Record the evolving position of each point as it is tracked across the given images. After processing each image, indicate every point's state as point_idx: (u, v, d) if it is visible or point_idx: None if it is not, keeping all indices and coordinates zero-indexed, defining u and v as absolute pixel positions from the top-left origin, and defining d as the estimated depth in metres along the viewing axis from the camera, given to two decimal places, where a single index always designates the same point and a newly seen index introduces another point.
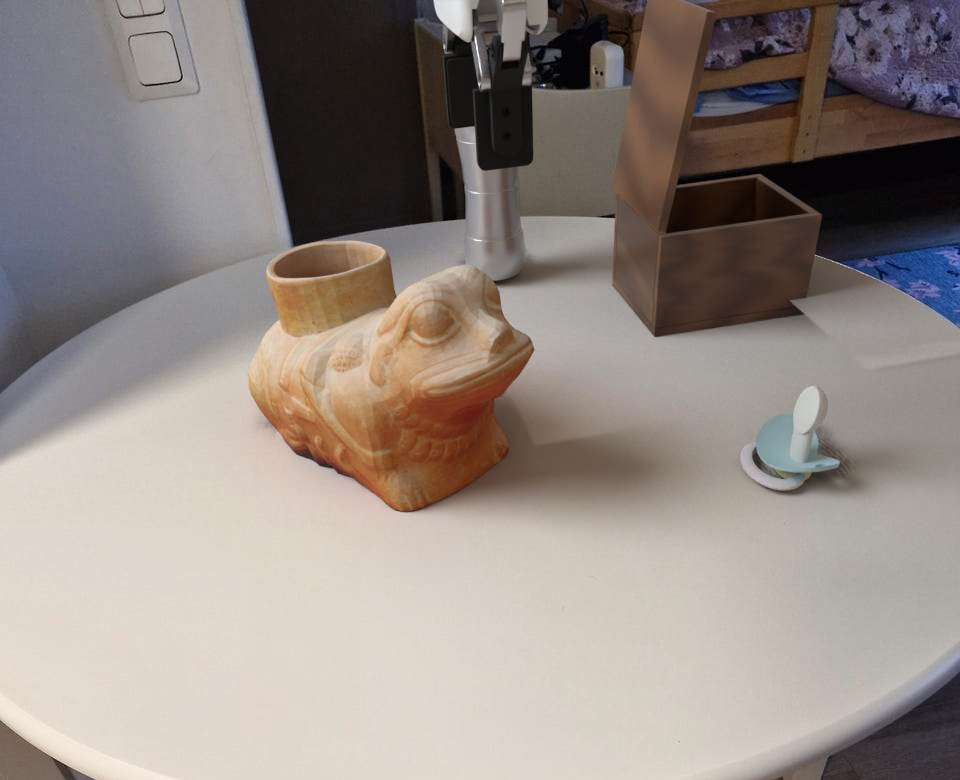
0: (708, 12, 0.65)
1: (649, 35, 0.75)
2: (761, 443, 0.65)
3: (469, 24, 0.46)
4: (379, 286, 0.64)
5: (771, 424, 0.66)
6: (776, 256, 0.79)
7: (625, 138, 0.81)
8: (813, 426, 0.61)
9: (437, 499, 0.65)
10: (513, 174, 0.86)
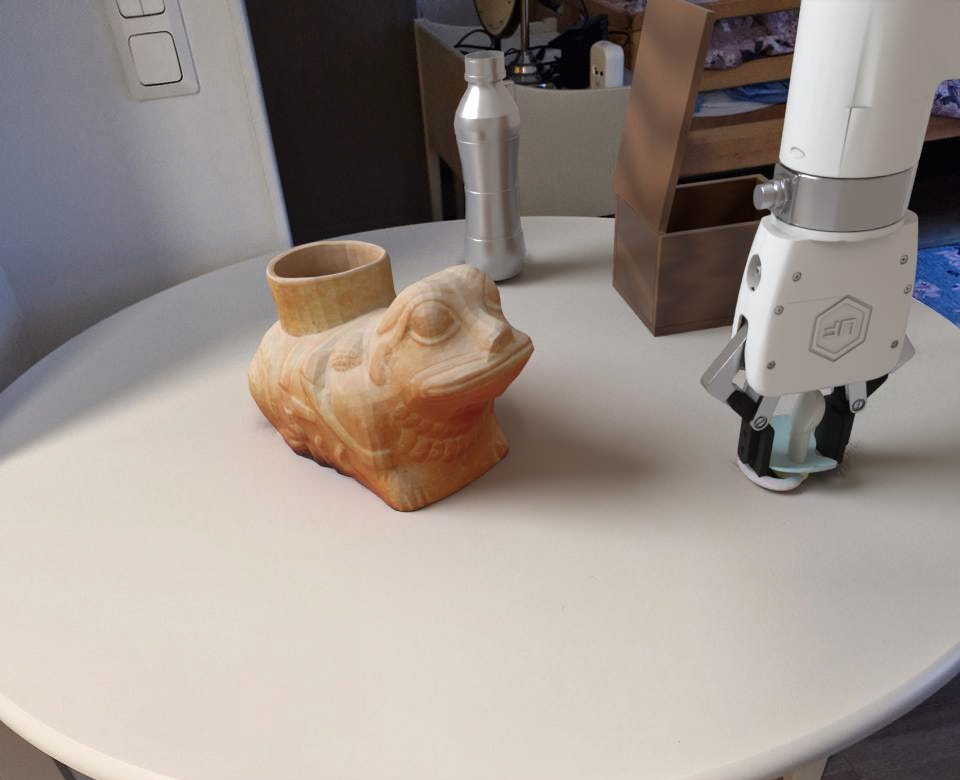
0: (708, 12, 0.65)
1: (649, 35, 0.75)
2: None
3: None
4: (379, 286, 0.64)
5: None
6: None
7: (625, 138, 0.81)
8: (810, 426, 0.61)
9: (437, 499, 0.65)
10: (513, 174, 0.86)
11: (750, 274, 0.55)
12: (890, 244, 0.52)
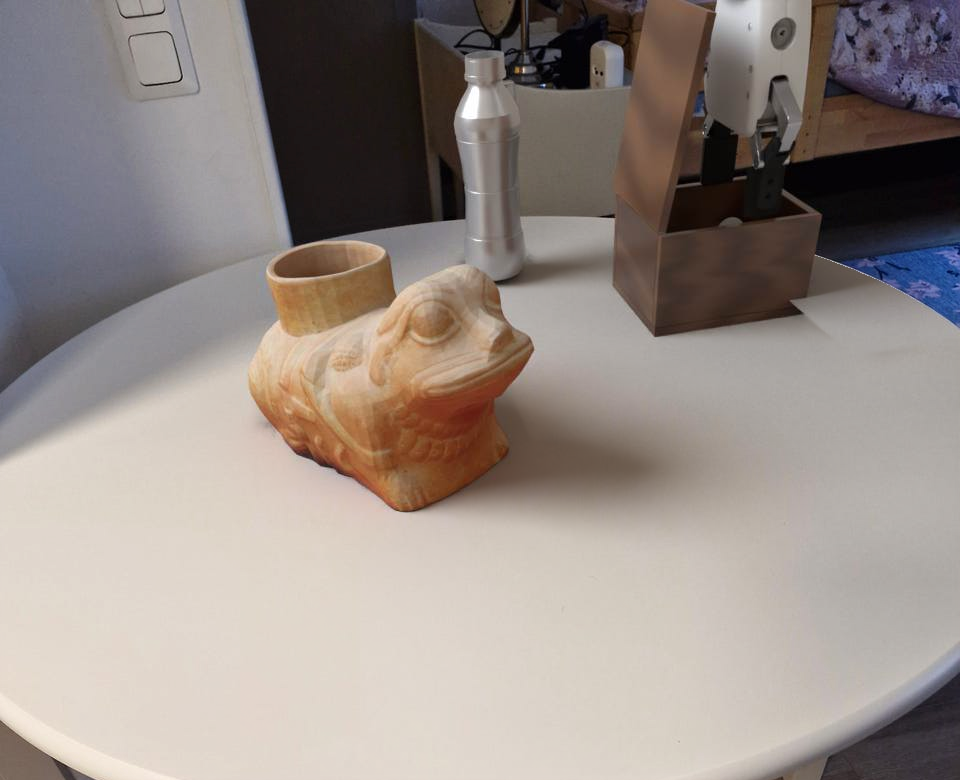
0: (708, 12, 0.65)
1: (649, 35, 0.75)
2: None
3: (753, 128, 0.73)
4: (379, 286, 0.64)
5: None
6: (776, 256, 0.79)
7: (625, 138, 0.81)
8: None
9: (437, 499, 0.65)
10: (513, 174, 0.86)
11: None
12: None
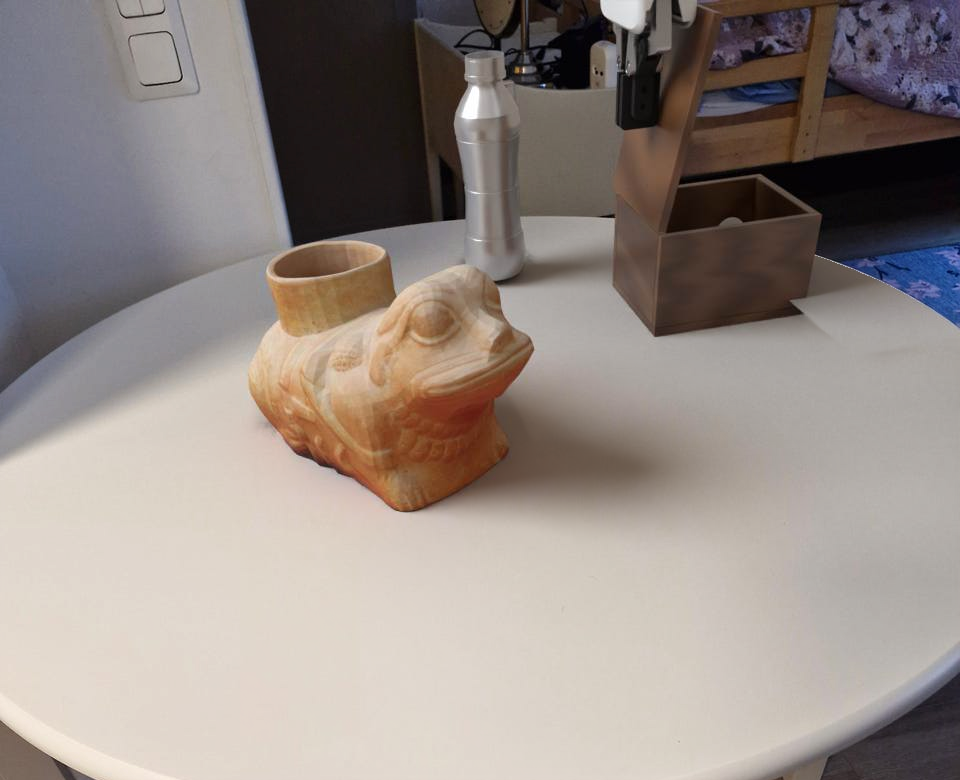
0: (715, 13, 0.66)
1: None
2: None
3: (642, 21, 0.66)
4: (379, 286, 0.64)
5: None
6: (776, 256, 0.79)
7: (627, 138, 0.81)
8: None
9: (437, 499, 0.65)
10: (513, 174, 0.86)
11: None
12: None
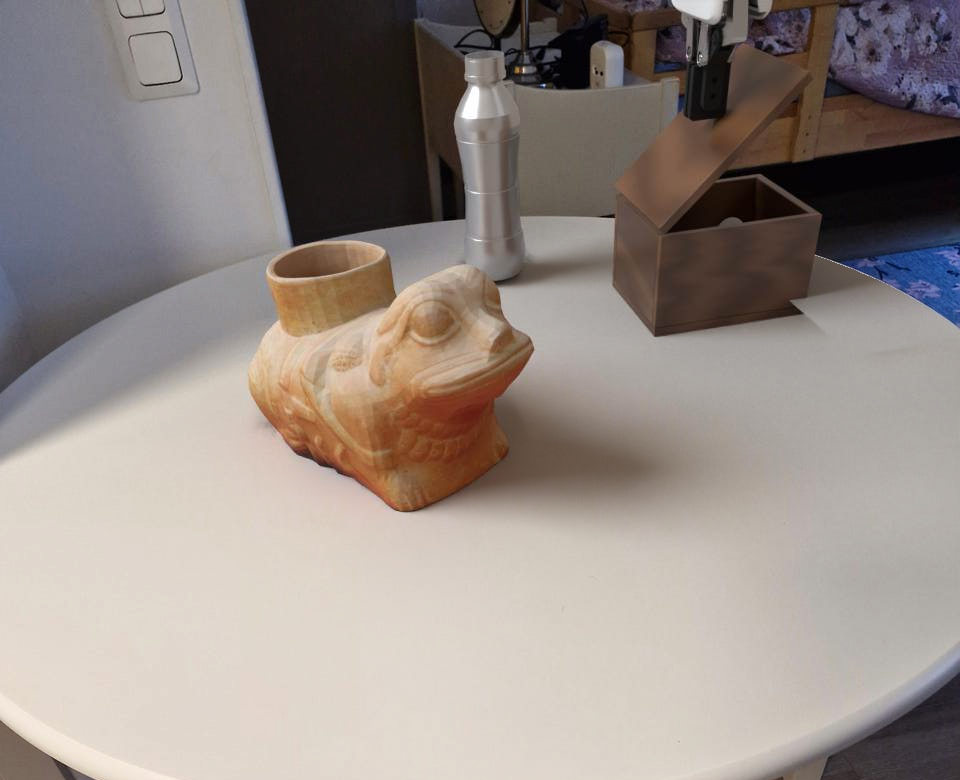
0: (809, 72, 0.70)
1: None
2: None
3: (719, 11, 0.67)
4: (379, 286, 0.64)
5: None
6: (776, 256, 0.79)
7: (652, 149, 0.82)
8: None
9: (437, 499, 0.65)
10: (513, 174, 0.86)
11: None
12: None
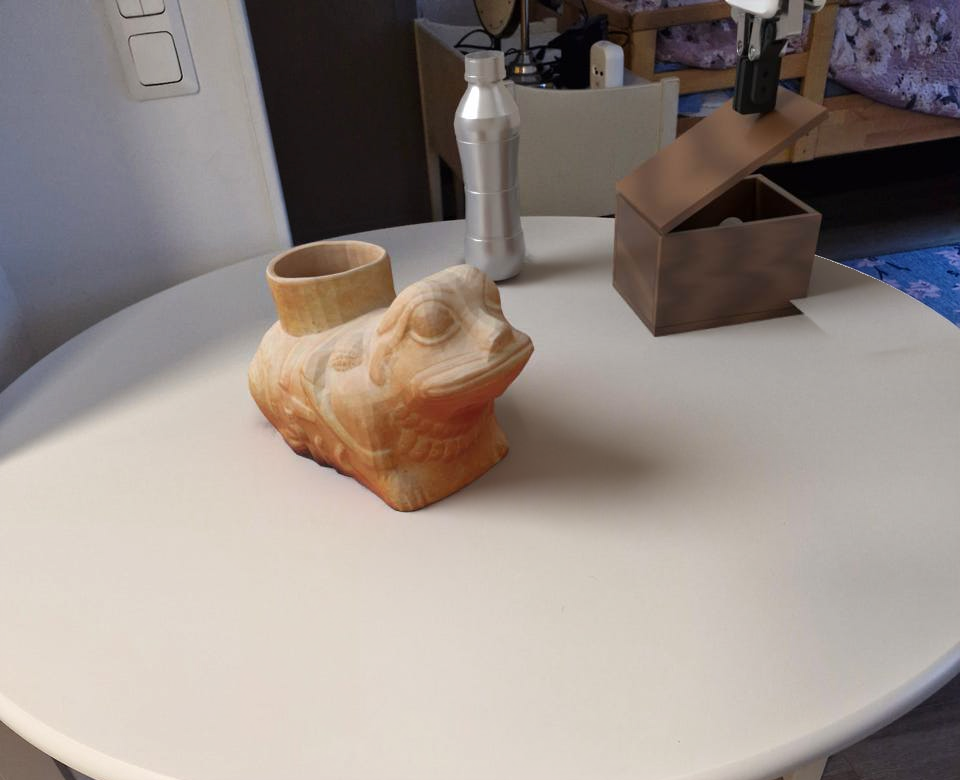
0: (827, 110, 0.72)
1: None
2: None
3: (775, 5, 0.67)
4: (379, 286, 0.64)
5: None
6: (776, 256, 0.79)
7: (659, 157, 0.82)
8: None
9: (437, 499, 0.65)
10: (513, 174, 0.86)
11: None
12: None
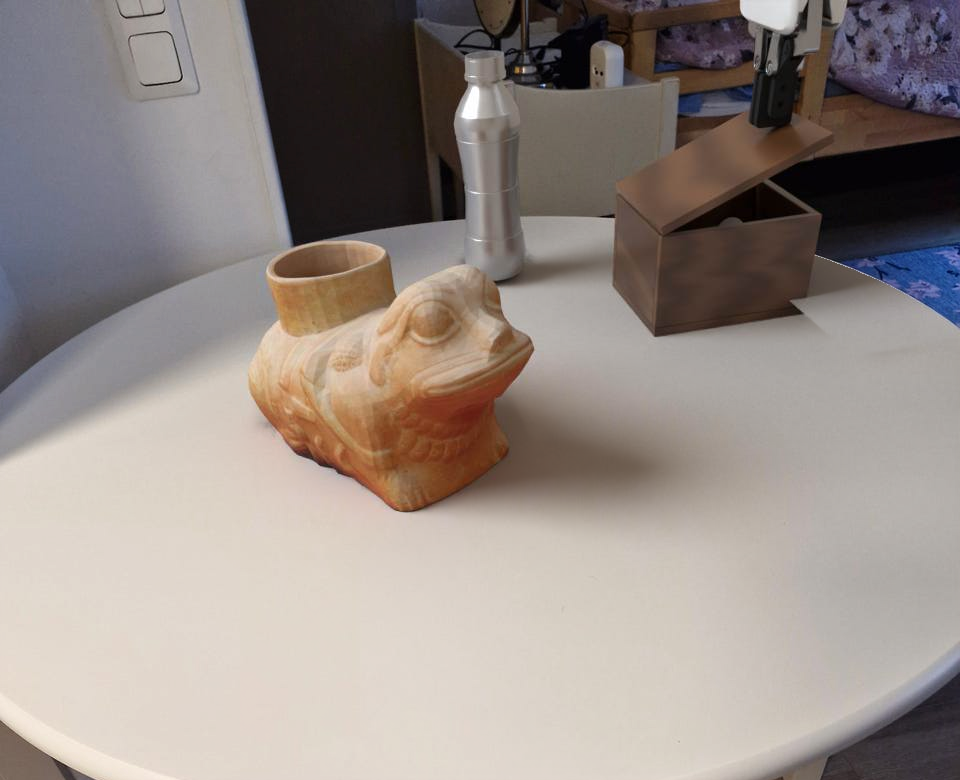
0: (832, 134, 0.73)
1: (746, 120, 0.81)
2: None
3: (794, 22, 0.68)
4: (379, 286, 0.64)
5: None
6: (776, 256, 0.79)
7: (661, 163, 0.83)
8: None
9: (437, 499, 0.65)
10: (513, 174, 0.86)
11: None
12: None
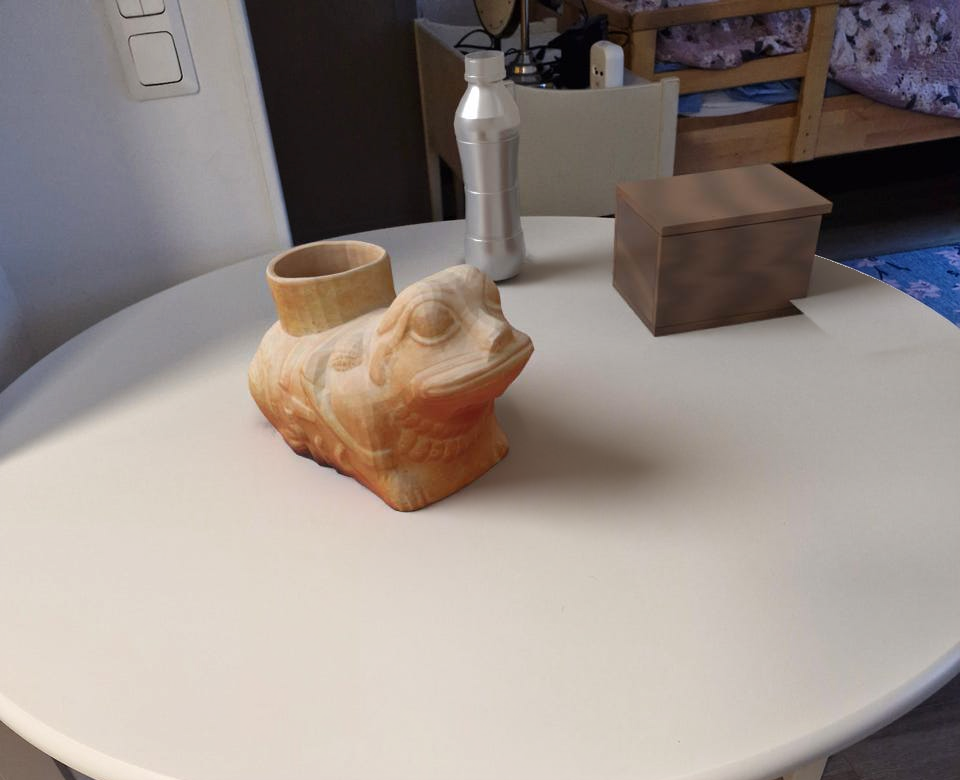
0: (832, 204, 0.77)
1: (750, 173, 0.84)
2: None
3: None
4: (379, 286, 0.64)
5: None
6: (776, 256, 0.79)
7: (665, 181, 0.84)
8: None
9: (437, 499, 0.65)
10: (513, 174, 0.86)
11: None
12: None
